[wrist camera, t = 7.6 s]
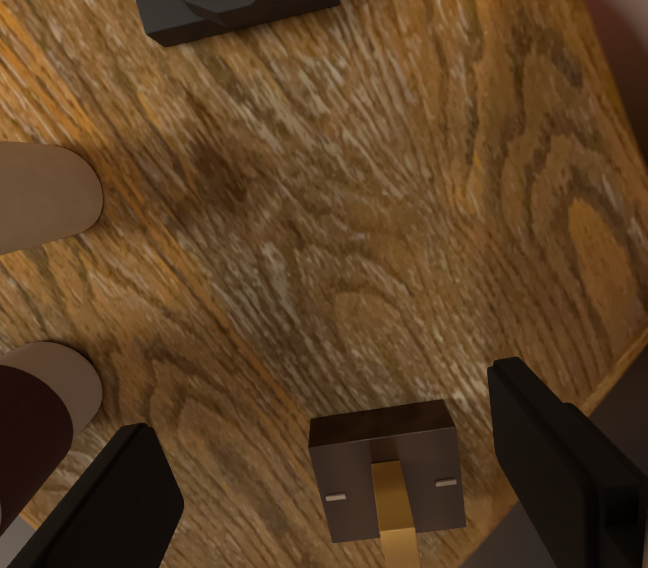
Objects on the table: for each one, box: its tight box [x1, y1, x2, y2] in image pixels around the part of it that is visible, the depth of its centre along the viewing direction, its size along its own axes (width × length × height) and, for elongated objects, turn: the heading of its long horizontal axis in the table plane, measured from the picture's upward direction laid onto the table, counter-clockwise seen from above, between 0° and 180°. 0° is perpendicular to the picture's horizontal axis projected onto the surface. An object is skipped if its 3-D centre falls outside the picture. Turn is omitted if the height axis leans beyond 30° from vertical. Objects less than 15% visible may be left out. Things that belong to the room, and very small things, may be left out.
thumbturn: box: [371, 460, 421, 568], centre depth 24 cm, size 5×2×5 cm, turn 11°
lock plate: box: [308, 400, 466, 543], centre depth 27 cm, size 10×9×3 cm
